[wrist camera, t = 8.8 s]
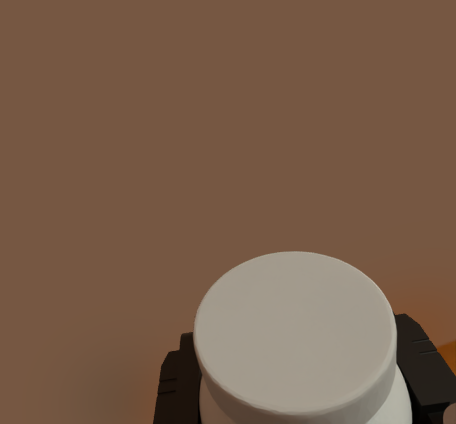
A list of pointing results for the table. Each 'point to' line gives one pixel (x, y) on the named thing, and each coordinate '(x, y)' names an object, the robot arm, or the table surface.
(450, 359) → the table surface
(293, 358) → the pill bottle
